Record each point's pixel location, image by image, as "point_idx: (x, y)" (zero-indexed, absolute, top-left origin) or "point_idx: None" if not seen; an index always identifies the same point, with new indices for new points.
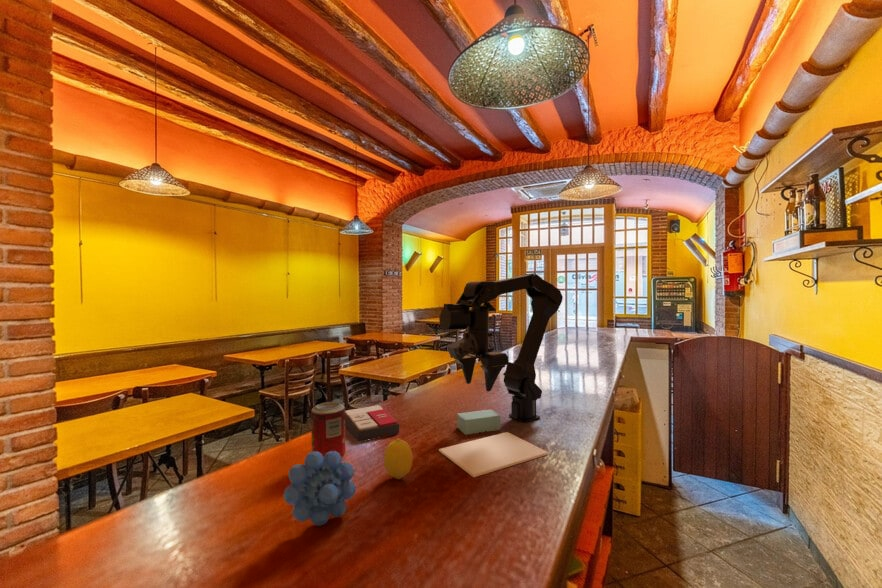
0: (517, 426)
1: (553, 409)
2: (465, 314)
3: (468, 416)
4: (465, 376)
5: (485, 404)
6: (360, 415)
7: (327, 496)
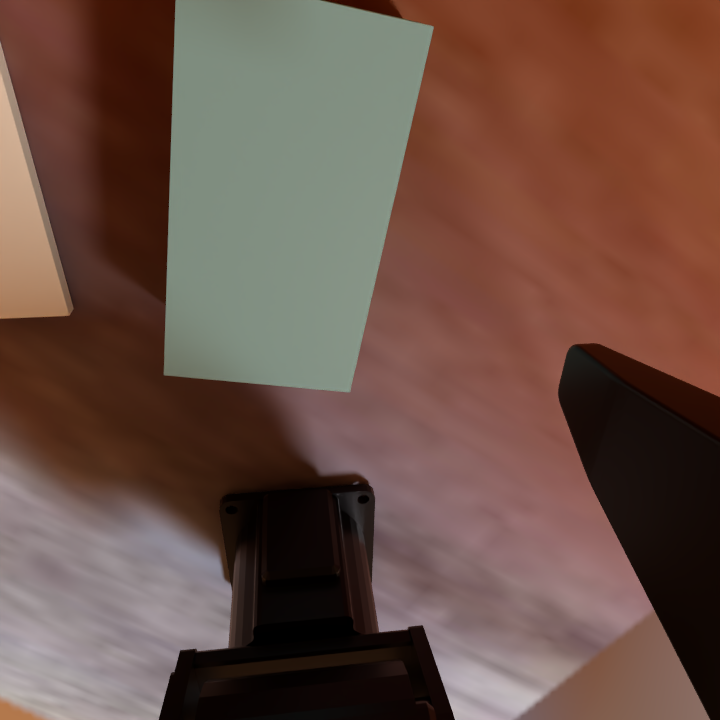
0: (184, 436)
1: None
2: None
3: (274, 89)
4: (667, 397)
5: None
6: None
7: None
